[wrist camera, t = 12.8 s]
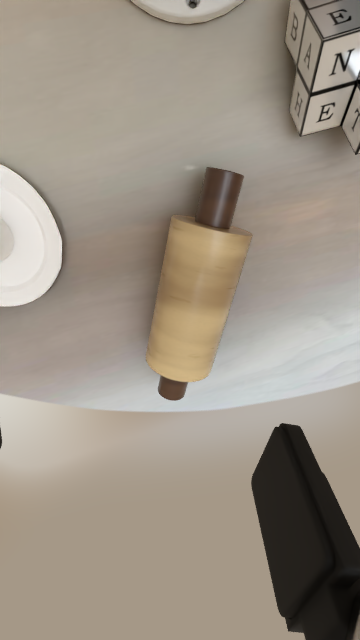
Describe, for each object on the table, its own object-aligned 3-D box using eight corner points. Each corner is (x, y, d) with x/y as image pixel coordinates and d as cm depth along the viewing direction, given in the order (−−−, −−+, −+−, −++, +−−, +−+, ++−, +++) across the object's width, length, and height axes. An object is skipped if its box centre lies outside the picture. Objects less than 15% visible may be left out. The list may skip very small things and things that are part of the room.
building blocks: (278, 86, 21) (312, 165, 19) (292, -16, 16) (341, 72, 14) (353, 64, 21) (399, 143, 18) (391, -48, 16) (463, 37, 13)
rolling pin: (185, 165, 22) (177, 156, 17) (261, 182, 22) (278, 180, 17) (146, 366, 30) (132, 405, 25) (202, 379, 30) (200, 421, 25)
